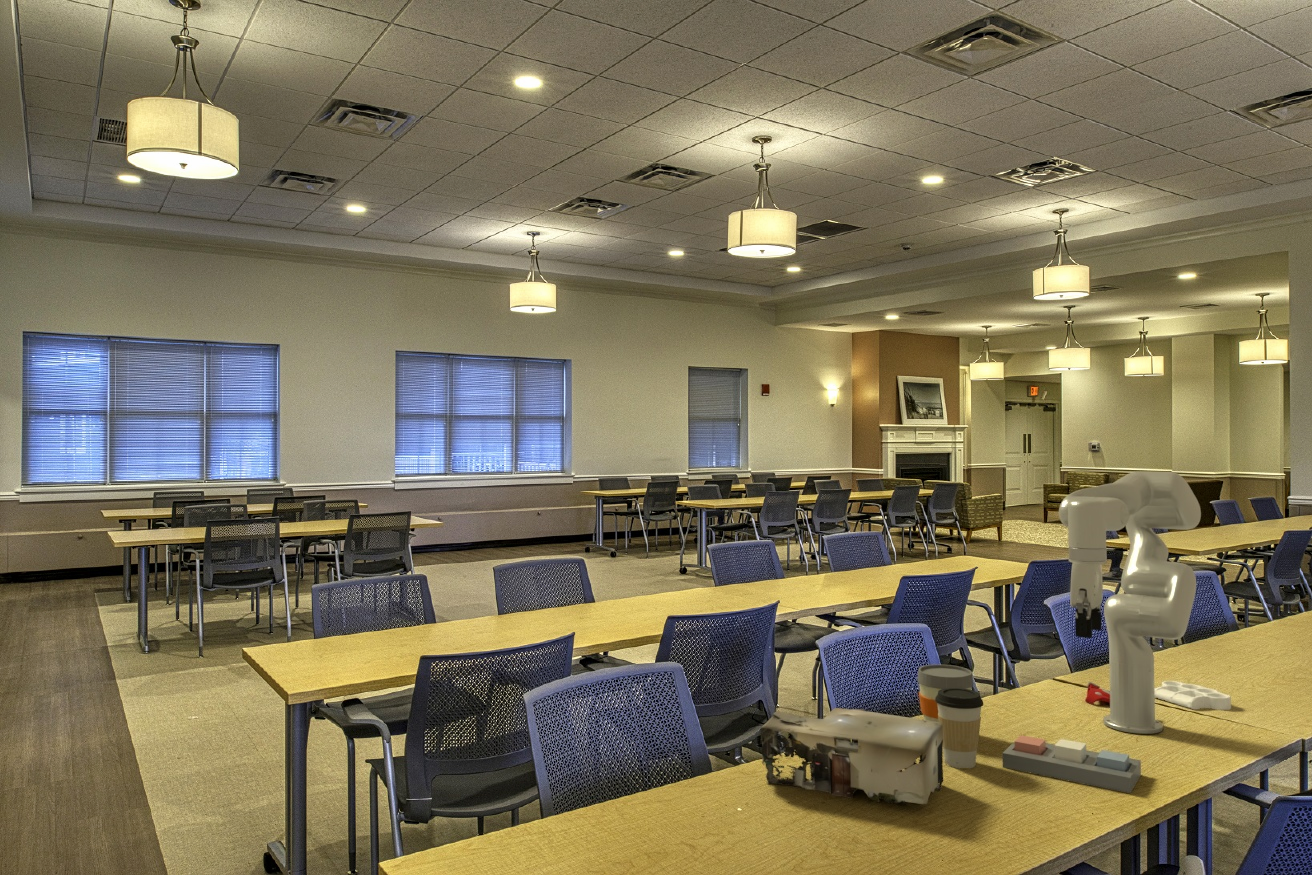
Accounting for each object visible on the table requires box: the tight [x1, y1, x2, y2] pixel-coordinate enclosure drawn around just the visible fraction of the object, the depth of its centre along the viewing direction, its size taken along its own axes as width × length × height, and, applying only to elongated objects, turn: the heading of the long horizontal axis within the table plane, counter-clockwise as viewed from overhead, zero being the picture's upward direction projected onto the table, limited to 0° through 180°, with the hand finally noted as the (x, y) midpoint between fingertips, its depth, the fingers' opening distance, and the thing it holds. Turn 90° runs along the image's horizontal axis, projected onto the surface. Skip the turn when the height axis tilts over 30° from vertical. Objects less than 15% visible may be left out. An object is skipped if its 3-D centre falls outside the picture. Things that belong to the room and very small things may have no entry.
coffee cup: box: [935, 688, 984, 769], centre depth 188 cm, size 10×10×15 cm
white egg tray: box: [1155, 680, 1232, 711], centre depth 232 cm, size 3×18×15 cm
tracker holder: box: [1084, 681, 1110, 705], centre depth 234 cm, size 12×4×10 cm
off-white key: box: [1055, 738, 1087, 764], centre depth 183 cm, size 5×5×4 cm
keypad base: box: [1002, 741, 1142, 794], centre depth 183 cm, size 12×24×3 cm, turn 52°
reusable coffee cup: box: [917, 664, 974, 722], centre depth 207 cm, size 13×13×15 cm
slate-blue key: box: [1097, 749, 1130, 772], centre depth 178 cm, size 5×5×4 cm
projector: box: [760, 707, 944, 807], centre depth 176 cm, size 18×33×13 cm, turn 61°
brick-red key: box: [1014, 734, 1047, 756], centre depth 188 cm, size 5×5×4 cm
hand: (1088, 633), depth 194 cm, fingers open, 9 cm apart
